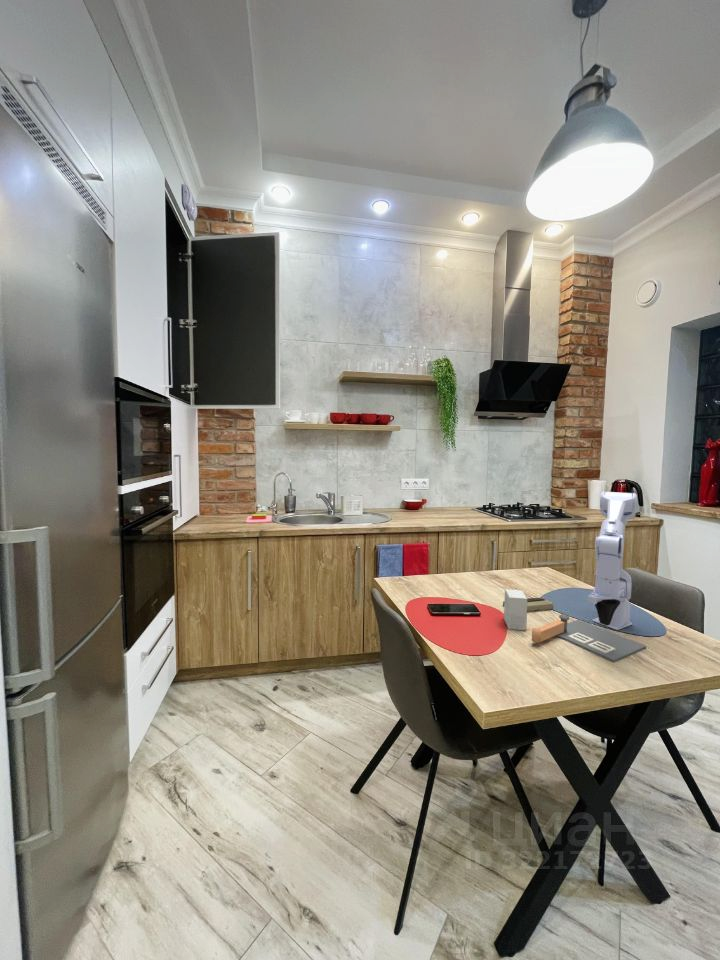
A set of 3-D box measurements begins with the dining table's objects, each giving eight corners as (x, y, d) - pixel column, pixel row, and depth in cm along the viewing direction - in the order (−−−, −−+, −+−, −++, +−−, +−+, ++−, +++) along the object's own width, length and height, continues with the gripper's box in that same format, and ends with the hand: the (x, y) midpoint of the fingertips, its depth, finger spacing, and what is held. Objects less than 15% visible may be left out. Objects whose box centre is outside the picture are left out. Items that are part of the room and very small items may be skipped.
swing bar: (564, 631, 117) (565, 621, 117) (537, 643, 109) (538, 632, 109) (557, 628, 119) (557, 619, 119) (529, 640, 111) (530, 629, 111)
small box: (526, 631, 120) (527, 598, 119) (507, 629, 121) (509, 597, 120) (521, 620, 128) (522, 590, 127) (503, 618, 129) (504, 588, 128)
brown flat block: (537, 602, 145) (537, 594, 145) (553, 611, 137) (554, 602, 137) (502, 606, 141) (502, 597, 140) (517, 615, 133) (517, 606, 133)
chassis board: (578, 621, 128) (579, 605, 127) (646, 647, 110) (647, 630, 110) (546, 631, 120) (547, 615, 119) (613, 662, 102) (615, 643, 102)
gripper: (607, 570, 115) (604, 613, 116) (578, 576, 108) (575, 623, 109) (632, 576, 109) (630, 622, 109) (603, 584, 102) (601, 633, 103)
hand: (604, 623), depth 109 cm, fingers closed
